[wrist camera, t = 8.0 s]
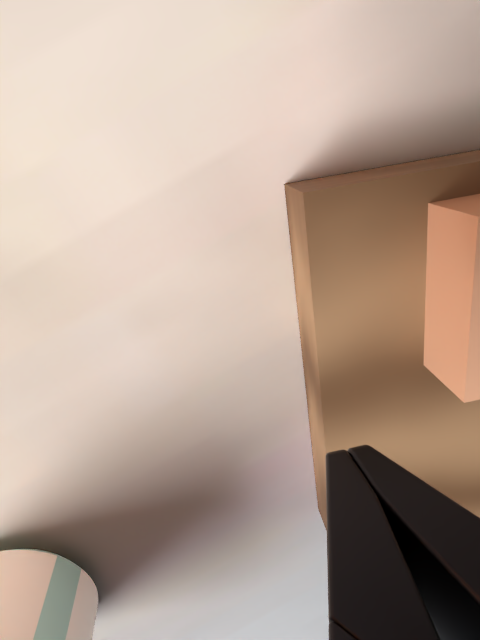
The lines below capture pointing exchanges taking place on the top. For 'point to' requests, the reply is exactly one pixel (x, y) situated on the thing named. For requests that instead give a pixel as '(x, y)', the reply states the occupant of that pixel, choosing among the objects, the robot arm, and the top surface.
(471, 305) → the terracotta tile
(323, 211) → the walnut board
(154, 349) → the top surface
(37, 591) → the can
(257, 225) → the top surface
